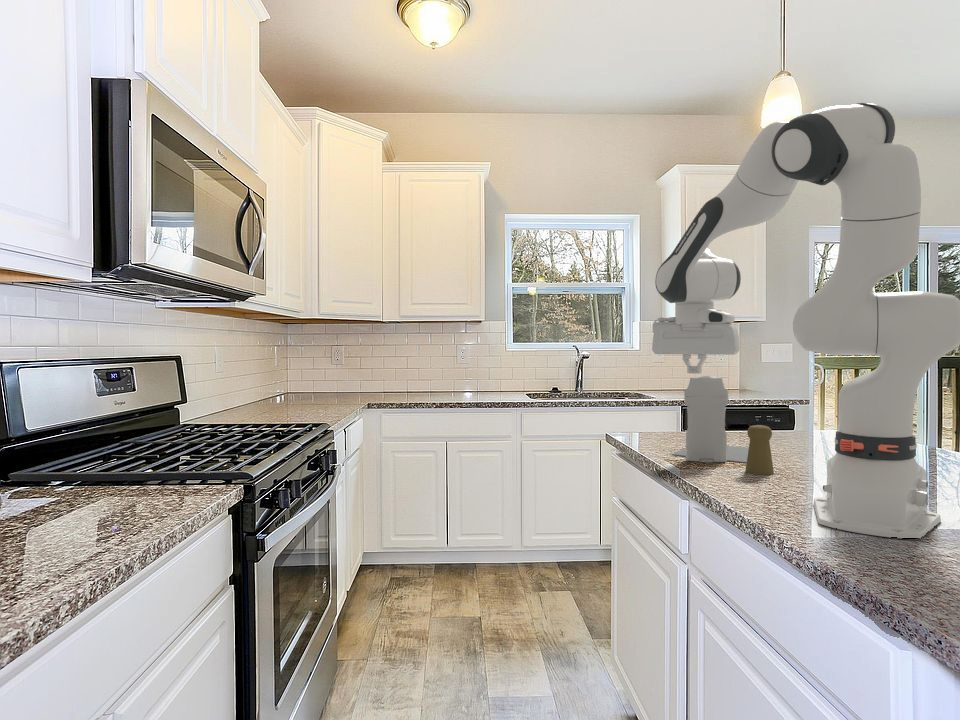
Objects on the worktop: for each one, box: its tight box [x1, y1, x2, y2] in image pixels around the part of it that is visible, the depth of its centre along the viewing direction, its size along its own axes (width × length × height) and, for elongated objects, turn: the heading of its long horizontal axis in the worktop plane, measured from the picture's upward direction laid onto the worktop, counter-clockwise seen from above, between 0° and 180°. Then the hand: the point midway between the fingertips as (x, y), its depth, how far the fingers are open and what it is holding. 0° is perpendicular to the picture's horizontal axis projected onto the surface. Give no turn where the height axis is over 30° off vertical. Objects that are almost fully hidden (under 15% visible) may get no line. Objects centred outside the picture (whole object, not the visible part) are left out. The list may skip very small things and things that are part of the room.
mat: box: [671, 445, 749, 464], centre depth 164 cm, size 22×20×1 cm
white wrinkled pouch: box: [683, 375, 729, 464], centre depth 153 cm, size 11×4×22 cm, turn 75°
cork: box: [745, 424, 775, 476], centre depth 140 cm, size 6×6×11 cm
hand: (694, 373), depth 145 cm, fingers closed
